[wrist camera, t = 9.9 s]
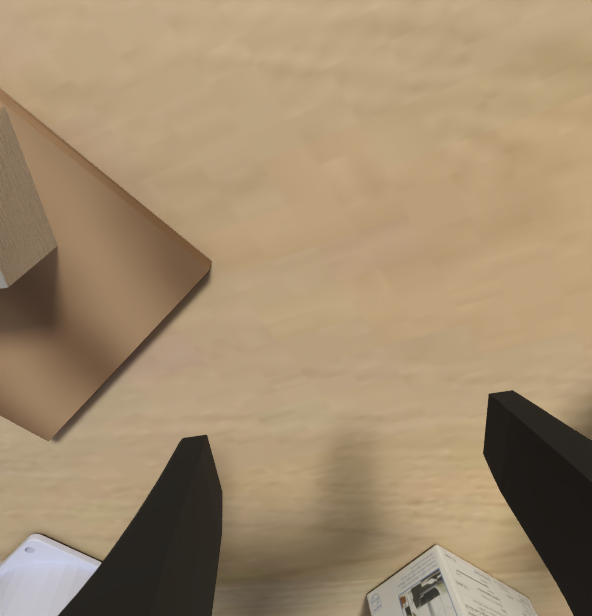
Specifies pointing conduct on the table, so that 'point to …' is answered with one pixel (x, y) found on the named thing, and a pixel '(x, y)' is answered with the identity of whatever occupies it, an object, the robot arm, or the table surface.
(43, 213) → the grey square sleeve
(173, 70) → the table surface
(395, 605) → the light bulb box
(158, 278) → the copper plate
